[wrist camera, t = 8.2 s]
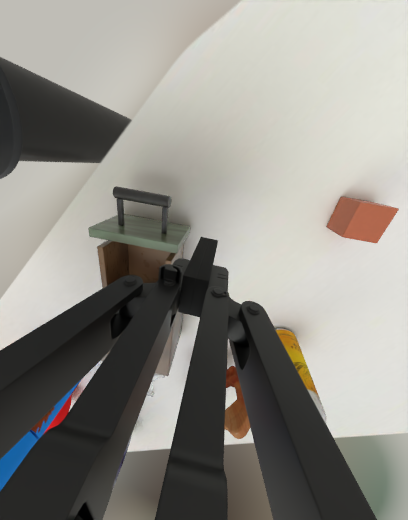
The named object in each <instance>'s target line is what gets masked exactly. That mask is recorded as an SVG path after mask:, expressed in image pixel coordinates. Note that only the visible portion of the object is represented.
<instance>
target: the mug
mask: <svg viewBox="0 0 408 520" xmlns="http://www.w3.org/2000/svg"><path fill="white" fill-rule="evenodd" d="M190 362H191V361H190ZM230 386H232V387H235V389H236V394H237V400H236V401H235V402H234V403H233V404H231V406H230V407H228V408H227V409H226V410H225V428H224V429H226V430H228V431H229V432H230V433H231V434H232V435H233V436H234V437H235V438H237V439H241V438H243V437H244V436H246V434H247V432H248V431H249V429H250V423H249V419H248V415H247V411H246V407H245V403H244V398H243V394H242V390H241V386H240V382H239V378H238V374H237V370H236V367H234V366H231V367H230V368H229V369H228V370H227V372H226V388H228V387H230Z"/></svg>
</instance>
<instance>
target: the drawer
mask: <svg viewBox="0 0 408 520" xmlns="http://www.w3.org/2000/svg"><path fill="white" fill-rule="evenodd" d="M113 195H114V197H115V198H118V199H117V211H118V215H117V216H115V217H112V218H110V219H108V220H105V221H103V222H101V223H98V224H96V225H94V226H92V227H89V228H88V229H89V236H90V237H95V238H100V239H105V240H108V241H106V242H104V243H103V244H101V245H99V246H98V247H97V249H98V256H99V264H100V271H101V279H102V287H103V288H104V287H106V286H108V285H109V284H111V283H113V282H114V281H116V280H118V279H119V278H121V277H123V276H127V275H136V276H139V277H141V278H142V280H143V283H156V282H157V281H158V275H159V267H160V266H162V265H165V264H173V263H174V261H175V260H177V259H179V258H181V259H182V255H183V246H184V242H185V240H186V238H187V237H188V235H189V233H190V226H184V225H179V224H174V223H168V208H169V207H170V205H171V197H170V196H166V195H160V194H155V193H149V192H144V191H138V190H133V189H127V188H122V187H114V189H113ZM123 200H129V201H134V202H139V203H145V204H150V205H156V206H161V207H163V211H162V221H158V220H152V219H147V218H142V217H137V216H131V215H126V214H124V206H123Z"/></svg>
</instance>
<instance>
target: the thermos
mask: <svg viewBox="0 0 408 520" xmlns="http://www.w3.org/2000/svg"><path fill="white" fill-rule="evenodd" d="M80 381H81V380H80ZM80 381H79V382H80ZM79 382H78V383H77V384H76V385H75V386H74V387H73V388H72V389H71V390H70V391H69V392H68V393H67V394H66V395H65V396H64V397H63V398H62V399H61V400H60V401H59V402H58V403H57V404H56V405H55V406H54V407H53V408H52V409H51V410H50V411H49V412H48V413H47V414H46V415H45V416H44V417H43V418H42V419H41V420H40V421H39V422H38V423H37V424H36V425H35V426H34V427H33V428H32V429H31V430H30V431H29V432H28V433H27V434H26V435H25V436H24V437H23V438H22V439H21V440H20V441H19V442H18V443H17V444H16V445H15V446H14V447H13V448H12V449H11V450H10V451H9V452H8V453H7V454H5V455H4V456H3V457H2V458H1V459H0V491H1V490H2V488H3V487H4V486H5V484H6V483H7V481H8V480H9V479H10V477H11V476H12V474H13V473H14V472H15V470H16V469H17V467H18V466H19V465H20V463H21V462H22V461H23V459H24V458H25V456H26V455H27V454H28V452H29V451H30V449H31V448H32V447H33V446H34V445H35V443H36V442H37V441H38V440H39V438H40V437H41V436H42V435H43V434H44V432H45V431H46V430H47V428H48V427H49V425H50V424H51V422H52V421H53V420H54V418H55V417H56V415H57V414H58V412H59V411H60V410H61V408H62V407H63V405H64V404H65V402H66V401H67V399H68V398H69V397H70V395H71V394H72V392H73V391H74V389H75V388H76V387H77V385H78V384H79Z"/></svg>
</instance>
